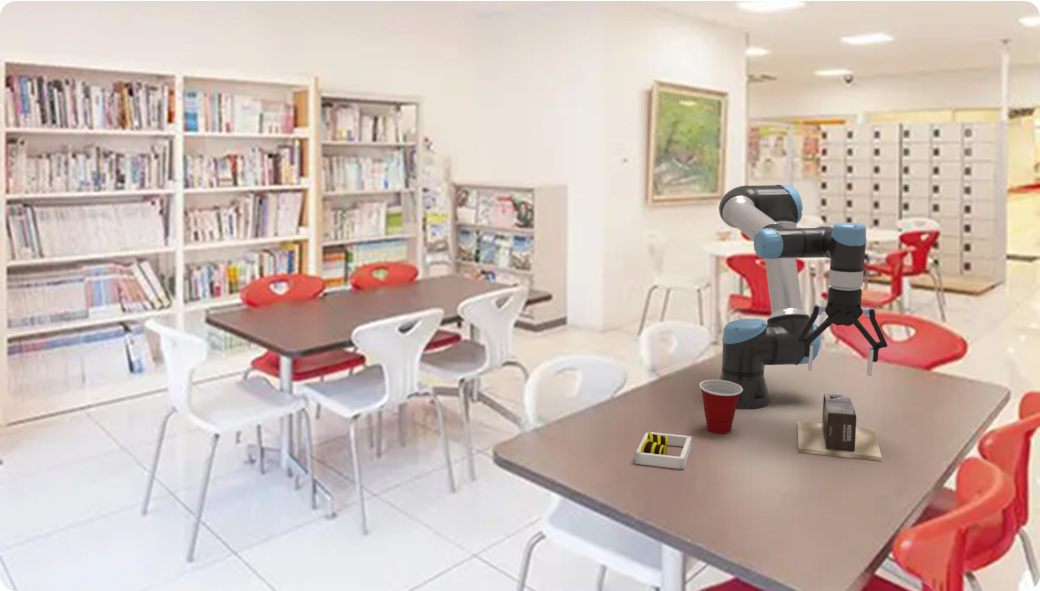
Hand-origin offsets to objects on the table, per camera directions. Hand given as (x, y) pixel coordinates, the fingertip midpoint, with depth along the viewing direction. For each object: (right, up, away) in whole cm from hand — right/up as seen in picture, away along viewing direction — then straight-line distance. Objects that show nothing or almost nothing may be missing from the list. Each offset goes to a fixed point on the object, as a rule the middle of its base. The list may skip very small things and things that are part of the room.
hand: (839, 372), depth 190 cm
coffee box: (+1, -10, +5) cm, 11 cm away
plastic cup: (-28, -16, +8) cm, 33 cm away
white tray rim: (-45, -19, -8) cm, 49 cm away
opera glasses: (-47, -19, -9) cm, 52 cm away
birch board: (-1, -17, -1) cm, 17 cm away
